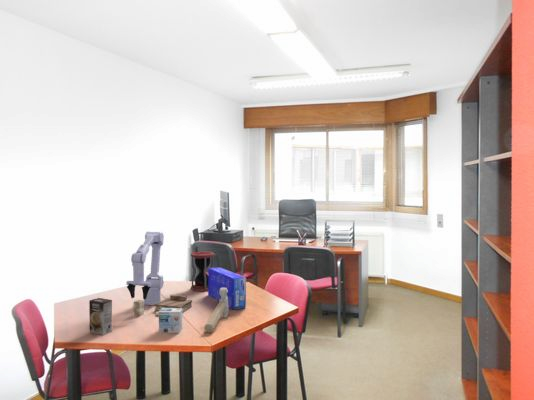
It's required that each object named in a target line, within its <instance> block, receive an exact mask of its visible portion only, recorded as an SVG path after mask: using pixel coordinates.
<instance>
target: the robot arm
mask: <svg viewBox="0 0 534 400" xmlns="http://www.w3.org/2000/svg"><path fill="white" fill-rule="evenodd" d="M163 245H164V233H163V232H162V231H146V232H145V234H144V242H143V244H140V245H139V247H138V249H137V250H136V251H135V252H133V253H132V255H131V258H130V259H131V265H132V270H133V272H132V274H133V275H132V276H133V278H132V279H133V280H127V281H126V283H125V284H126V288H127V290H128V291H129V294H130V298H131V299H134V298H135V295H136V293H135V292H136V286H139V287H141V289H142V298H143V299H142V300H144V305H149V306H155V304H156V303H158V302H160V301H162V300H161V299H162V298H161V296H162V295H161V290H162V288H163V287H164V276H163V275H162V274H161V273H160V258H161V247H162V246H163ZM150 247H152V249H151V262H150V263H151V264H150V273H149V274H147V275H146V278H145V262H146V259H147V255H148V253H149V251H150Z"/></svg>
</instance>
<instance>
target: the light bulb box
mask: <svg viewBox="0 0 534 400" xmlns="http://www.w3.org/2000/svg"><path fill="white" fill-rule="evenodd" d="M182 330H183V313H182V308H162V309H161V310H160V311H159V316H158V334H180V333H181V332H182Z"/></svg>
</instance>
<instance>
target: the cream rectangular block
mask: <svg viewBox="0 0 534 400" xmlns="http://www.w3.org/2000/svg"><path fill="white" fill-rule="evenodd" d="M144 314H145V304H144V299H136V300H133V317H142V316H144Z"/></svg>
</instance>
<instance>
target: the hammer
mask: <svg viewBox="0 0 534 400" xmlns="http://www.w3.org/2000/svg"><path fill="white" fill-rule="evenodd" d="M227 292H228V290H227V288H220V291H219V293H220V296H221V299H220V300H219V301H218V304H217V305H216V307H215V309H214V310H213V312H212V314H211V316H210V317H209V319H208V320H207V321H206V323H205V325H204V331H205V332H206V333H209V334H212V333H213V331H214V330H215V328H216V326H217V324H218V322H219V320H220V318H228V316H229V311H230V310H229V308H230V307H229V306H228V297H227Z"/></svg>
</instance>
